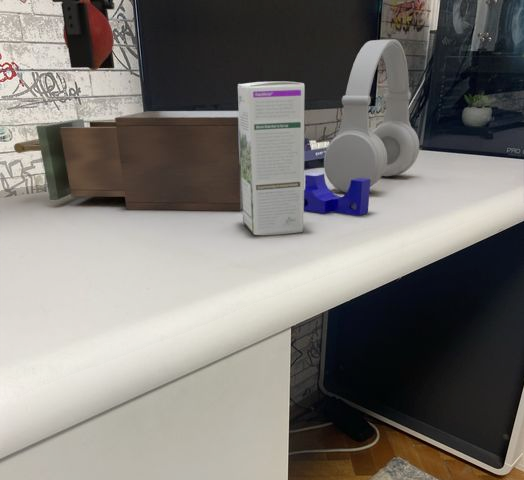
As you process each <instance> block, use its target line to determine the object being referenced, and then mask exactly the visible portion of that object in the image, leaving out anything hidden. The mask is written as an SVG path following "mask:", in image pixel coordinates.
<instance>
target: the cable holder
mask: <svg viewBox="0 0 524 480" xmlns="http://www.w3.org/2000/svg"><path fill="white" fill-rule="evenodd" d="M370 180H371V179H366V178H357V179H353V180H351V183H350V187H349V189H348V191H347V193H344V195H343V196H339V195H337V194H335V193H333V192H332V190H330V188H329V187H328V185H327V183H326V179H325V173H320V172H319V173H318V172H312V173H308V174H304V211H305V212H311V213H317V214H324V215H325V214H328V213H331V212H332V213H338V214H344V215H351V216H358V217H361V216H364V215H366V214H368V213H369V206H370V205H369V204H370V193H371V191H370V190H371V187H370Z"/></svg>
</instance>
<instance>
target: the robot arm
mask: <svg viewBox="0 0 524 480" xmlns="http://www.w3.org/2000/svg"><path fill="white" fill-rule="evenodd" d="M51 1H52V2H53V3H60V6H61V11H62V18H63V26H64V25H65V32H66V38H67V45H68V48H67V51H68V57H69V63H70V64H69V65H70V68H71V69H83V68H85V69H87V68H88V69H89V68H94V67H95V63H94V55H93V48H92V41H91V33H90V26H89V19H88V11H87V4H86V3H79V1H82V0H51ZM90 3H91V4H92V5H93V6H94V7H96V8H97V9H98V10H99V11H100V12H101V13H102V14H103V15H104V16H105V17H106V19H107V20H108V22H109V23H110V20H109V12H108V11H109V10H115V2H114V0H90ZM98 69H115V60H114V52H113V50H112V51H111V53H110V54H109V56H108V57H107V58H106V59H105V60H104V61H103V63H102V64H101V65H100V67H99V68H98Z"/></svg>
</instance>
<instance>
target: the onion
mask: <svg viewBox="0 0 524 480" xmlns="http://www.w3.org/2000/svg"><path fill="white" fill-rule="evenodd" d="M79 3H86V4H87V11H88V19H89V26H90V33H91V41H92V48H93V55H94V63H95V67H94V68H88V69H89V70H91V71H97V70H98V69H100V68H99V67H100V65H101V64H102V63H103V61H104V60H105V59H106V58H107V57H108V56H109V54H110V53H111V51H112V52H113V48H114V43H115V41H114V39H115V38H114V31H113V28H112V27H111V24H110V21H109V22H108V20H107V19H106V17H105V16H104V15H103V14H102V13H101V12H100V11H99V10H98V9H97V8H96V7H94V6H93V5H92V4H91V3H90V0H82V1H79ZM62 30H63V31H62V32H63V39H64V44H65V47H66V48H67V49H68V45H67V38H66V32H65V25H64V24H63V29H62Z"/></svg>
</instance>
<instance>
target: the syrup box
mask: <svg viewBox="0 0 524 480" xmlns="http://www.w3.org/2000/svg"><path fill="white" fill-rule="evenodd" d="M305 88H306V87H305V83H304V82H299V81H298V82H296V81H255V82H254V81H253V82H246V83H238V84H237V101H238V102H237V103H238V106H237V107H238V111H239V135H240V156H241V184H242V207H243V208H242V224H243V225H244V226H245V227H246V228H247V229H248V230H249V231H250V233H252V235H254V236H275V235H276V236H277V235H285V234H286V235H287V234H296V233H297V234H298V233H303V232H304V218H305V217H304V215H305V214H304V213H305V212H304V187H305V97H306V96H305V95H306V93H305V91H306V90H305Z"/></svg>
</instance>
